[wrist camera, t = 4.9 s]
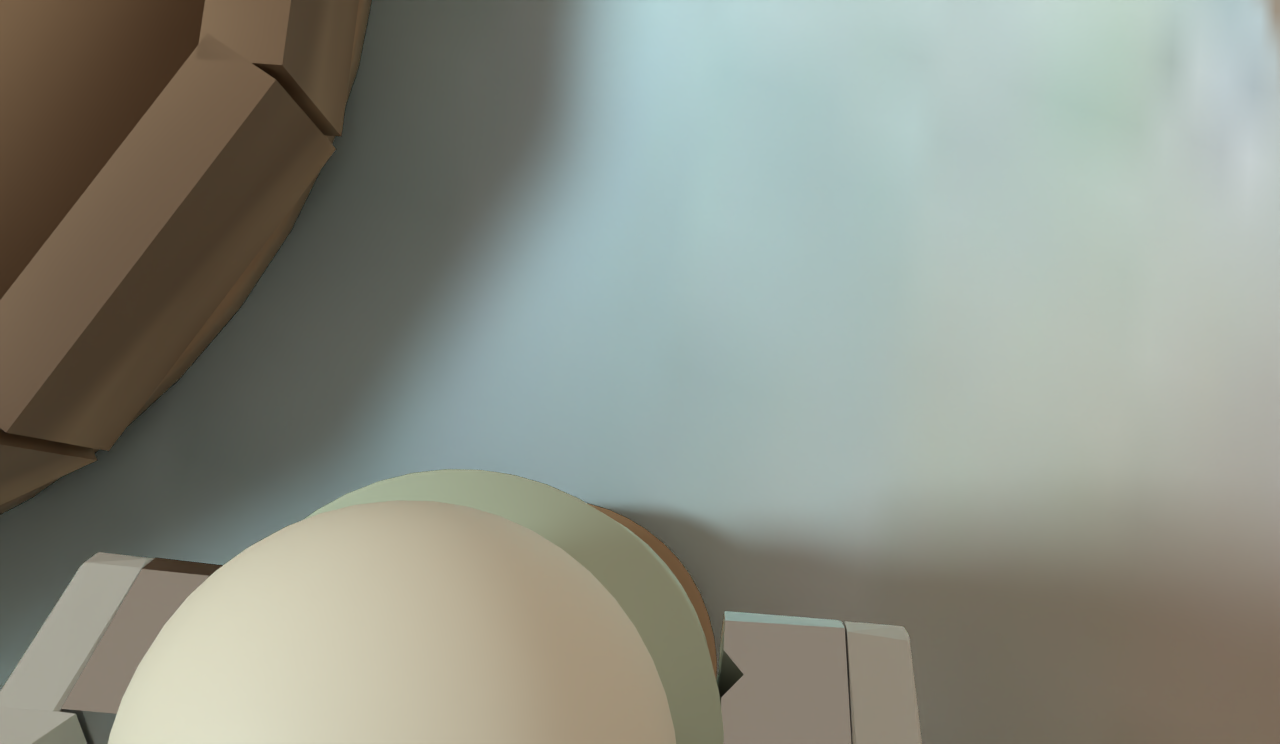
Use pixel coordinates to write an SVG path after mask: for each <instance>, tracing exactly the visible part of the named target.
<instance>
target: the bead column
mask: <svg viewBox="0 0 1280 744" xmlns="http://www.w3.org/2000/svg"><path fill="white" fill-rule="evenodd" d="M716 674H717V658H716V649H715V640H714V635H713V631H712V627H711V623H710V619H709V615H708V612H707V610H706V607H705V605H704V602H703V600H702V597H701V594H700V592H699V590H698V589H697V587H696V585H695V583H694V581H693V580H692V578H691V576H690V574H689V573H688V572H687V570H686V569H685V567H684V566H683V565H682V563H681V562H680V561H679V559H678V558H677V557H676V556H675V555H674V554H673V553H672V552H671V551H670V550H669V549H668V548H667V546H666V545H665V544H664V543H662V542H661V541H660V540H659V539H657V538H656V537H655V536H654V535H652V534H651V533H650V532H649V531H647V530H646V529H645V528H643V527H641V526H640V525H638V524H637V523H635V522H633V521H632V520H630V519H628V518H626V517H624V516H622V515H620V514H617V513H615V512H613V511H611V510H608V509H605V508H601V507H598V506H595V505H591V504H588V503H585V502H583V501H582V500H580V499H578V498H576V497H574V496H572V495H569V494H567V493H565V492H562V491H560V490H558V489H556V488H553V487H551V486H549V485H546V484H543V483H540V482H536V481H533V480H529V479H526V478H523V477H519V476H516V475H511V474H504V473H497V472H491V471H484V470H460V469H444V470H435V471H426V472H417V473H410V474H406V475H402V476H398V477H394V478H390V479H386V480H382V481H378V482H376V483H373V484H371V485H368V486H365V487H363V488H360V489H358V490H355V491H353V492H350V493H347V494H345V495H344V496H342V497H340V498H338V499H336V500H334V501H333V502H331V503H329V504H327V505H325V506H323V507H322V508H320V509H318V510H316V511H315V512H313V513H312V514H311V515H309V516H308V517H306V518H305V519H304V520H302V521H299V522H297V523H294V524H291V525H289V526H286V527H284V528H283V529H281V530H279V531H277V532H275V533H273V534H272V535H270V536H268V537H266V538H264V539H262V540H261V541H259V542H257V543H255V544H253V545H252V546H250V547H248V548H247V549H245V550H244V551H242V552H241V553H240V554H238V555H237V556H235V557H234V558H233V559H231V560H230V561H229V562H227V563H226V564H224V565H223V566H222V567H220V568H219V569H218V570H216V571H215V572H214V573H213V574H212V575H211V576H210V577H208V578H207V579H206V580H205V581H204V582H203V583H202V584H201V585H200V586H199V587H198V588H197V589H196V590H195V591H193V592H192V593H191V594H190V595H189V596H188V597H187V598H186V600H185V601H184V602H183V603H182V604H181V606H180V607H179V608H178V609H177V610H176V612H175V613H174V614H173V615H172V616H171V618H170V619H169V620H168V621H167V622H166V624H165V625H164V626H163V628H162V629H161V631H160V632H159V634H158V636H157V637H156V639H155V640H154V642H153V643H152V645H151V646H150V648H149V649H148V651H147V653H146V654H145V656H144V657H143V659H142V660H141V662H140V663H139V665H138V667H137V669H136V671H135V673H134V675H133V677H132V679H131V681H130V683H129V685H128V687H127V690H126V692H125V694H124V696H123V698H122V700H121V703H120V706H119V709H118V712H117V715H116V718H115V721H114V724H113V726H112V729H111V732H110V735H109V740H108V744H723V741H724V730H723V721H722V712H721V704H720V695H719V690H718V686H717V682H716Z"/></svg>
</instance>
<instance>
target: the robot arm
mask: <svg viewBox="0 0 1280 744" xmlns="http://www.w3.org/2000/svg"><path fill="white" fill-rule="evenodd" d="M222 566H223V565H215V564H206V563H198V562H189V561H180V560H172V559H163V558H148V557H139V556H130V555H121V554H112V553H103V552H98V553H96V554H95V555H94V556H92V557H91V558H90V559H88V560H87V561H85V562H84V563H83V564H82V565H81V566H80V567H79V569H78V570H77V572H76V574H75V575H74V577H73V578H72V580H71V581H70V583H69V584H68V586H67V588H66V589H65V591H64V592H63V594H62V595H61V597H60V599H59V600H58V602H57V603H56V605H55V606H54V608H53V609H52V611H51V613H50V614H49V616H48V617H47V619H46V620H45V622H44V623H43V625H42V627H41V628H40V630H39V631H38V633H37V634H36V636H35V638H34V639H33V641H32V642H31V644H30V645H29V647H28V648H27V650H26V652H25V653H24V655H23V656H22V658H21V659H20V661H19V662H18V664H17V666H16V667H15V669H14V670H13V672H12V673H11V675H10V676H9V678H8V680H7V681H6V683H5V684H4V686H3V687H2V689H1V691H0V744H108V740H109V735H110V732H111V729H112V726H113V724H114V721H115V718H116V715H117V712H118V709H119V706H120V703H121V700H122V698H123V696H124V694H125V692H126V690H127V687H128V685H129V683H130V681H131V679H132V677H133V675H134V673H135V671H136V669H137V667H138V665H139V663H140V662H141V660H142V659H143V657H144V656H145V654H146V653H147V651H148V649H149V648H150V646H151V645H152V643H153V642H154V640H155V639H156V637H157V636H158V634H159V632H160V631H161V629H162V628H163V626H164V625H165V624H166V622H167V621H168V620H169V619H170V618H171V616H172V615H173V614H174V613H175V612H176V610H177V609H178V608H179V607H180V606H181V604H182V603H183V602H184V601H185V600H186V598H187V597H188V596H189V595H190V594H191V593H192V592H193V591H195V590H196V589H197V588H198V587H199V586H200V585H201V584H202V583H203V582H204V581H205V580H206V579H207V578H208V577H210V576H211V575H212V574H213V573H214V572H215V571H216V570H218V569H219V568H220V567H222ZM716 682H717V686H718V690H719V695H720V704H721V712H722V721H723V730H724V741H723V744H922V738H921V730H920V721H919V713H918V704H917V696H916V687H915V679H914V670H913V662H912V654H911V645H910V637H909V635H908V633H907V631H906V630H905V628H904V626H896V625H884V624H872V623H861V622H849V621H844V622H843V623H842V622H841V621H840V620H832V619H819V618H807V617H794V616H782V615H769V614H757V613H744V612H732V611H724V617H723V624H722V632H721V640H720V655H719V673H718V676H717V677H716Z"/></svg>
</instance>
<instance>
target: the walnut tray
mask: <svg viewBox="0 0 1280 744" xmlns="http://www.w3.org/2000/svg"><path fill="white" fill-rule="evenodd" d="M371 2H372V0H0V515H1V514H3V513H4V512H6V511H8V510H10V509H12V508H14V507H16V506H17V505H19V504H21V503H23V502H25V501H27V500H29V499H30V498H32V497H34V496H35V495H37V494H38V493H40V492H41V491H42V490H44V489H45V488H47V487H48V486H49V485H51V484H52V483H54V482H55V481H56V480H58V479H59V478H61V477H62V476H65V475H67V474H69V473H71V472H73V471H75V470H78V469H80V468H82V467H84V466H86V465H88V464H91V463H93V462H95V461H97V458H96V455H95V453H96V452H97V451H99V450H105V451H109V450H110V449H111V448H112V446H113V445H114V444H115V442H116V441H117V440H118V438H119V437H120V436H121V434H122V433H123V432H124V430H125V429H126V428H127V426H129V425H130V424H131V423H132V422H133V421H134V420H135V419H136V418H137V417H138V416H139V415H141V414H142V413H143V412H144V411H145V410H146V409H147V408H148V407H149V406H150V405H151V404H153V403H154V402H155V401H156V400H157V399H158V398H159V397H160V396H161V395H162V394H163V393H165V392H166V391H167V390H168V389H169V388H170V387H171V386H172V385H173V384H174V383H175V382H177V381H178V380H179V379H180V378H181V377H182V376H183V374H184V373H185V372H186V371H187V370H188V368H189V367H190V366H191V365H192V364H193V363H194V361H195V360H196V359H197V358H198V357H199V356H200V354H201V353H202V352H203V351H204V350H205V349H206V347H207V346H208V345H209V344H210V343H211V342H212V340H213V339H214V338H215V337H216V336H217V334H218V333H219V332H220V331H221V330H222V329H223V327H224V326H225V325H226V324H227V323H228V322H229V320H230V319H231V318H232V317H233V316H234V315H235V313H236V312H237V311H238V310H239V309H240V308H241V306H242V305H243V303H244V302H245V300H246V299H247V297H248V295H249V294H250V292H251V291H252V289H253V288H254V286H255V285H256V283H257V282H258V280H259V279H260V277H261V276H262V274H263V273H264V271H265V270H266V268H267V267H268V265H269V264H270V262H271V261H272V259H273V257H274V256H275V254H276V253H277V251H278V250H279V248H280V247H281V245H282V244H283V242H284V241H285V239H286V238H287V236H288V235H289V233H290V232H291V230H292V228H293V226H294V224H295V222H296V220H297V218H298V216H299V214H300V212H301V210H302V207H303V205H304V203H305V201H306V199H307V197H308V195H309V193H310V191H311V189H312V187H313V185H314V183H315V181H316V179H317V177H318V175H319V173H320V171H321V169H322V167H323V166H324V165H325V163H326V162H327V161H328V159H329V158H330V157H331V155H332V154H333V153H334V151H335V150H336V148H335V147H334V146H333V142H334V139H335V136H340V137H341V136H342V129H343V121H344V113H345V106H346V103H347V100H348V97H349V94H350V91H351V88H352V85H353V83H354V80H355V77H356V74H357V71H358V68H359V63H360V58H361V53H362V47H363V42H364V37H365V32H366V27H367V22H368V17H369V12H370V7H371Z"/></svg>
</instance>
